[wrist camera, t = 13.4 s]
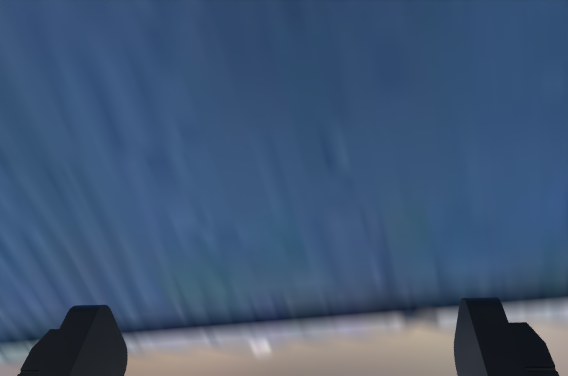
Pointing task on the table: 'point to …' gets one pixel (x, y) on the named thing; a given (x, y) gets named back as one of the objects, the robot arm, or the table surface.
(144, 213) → the table surface
